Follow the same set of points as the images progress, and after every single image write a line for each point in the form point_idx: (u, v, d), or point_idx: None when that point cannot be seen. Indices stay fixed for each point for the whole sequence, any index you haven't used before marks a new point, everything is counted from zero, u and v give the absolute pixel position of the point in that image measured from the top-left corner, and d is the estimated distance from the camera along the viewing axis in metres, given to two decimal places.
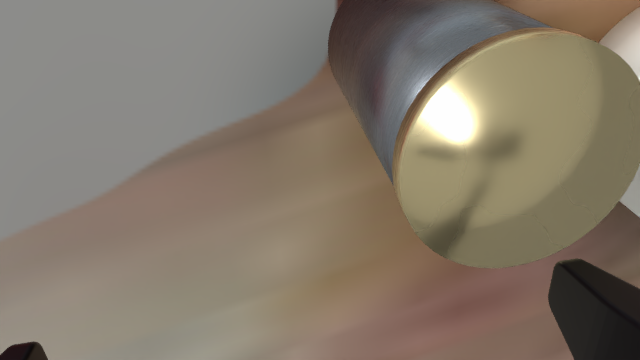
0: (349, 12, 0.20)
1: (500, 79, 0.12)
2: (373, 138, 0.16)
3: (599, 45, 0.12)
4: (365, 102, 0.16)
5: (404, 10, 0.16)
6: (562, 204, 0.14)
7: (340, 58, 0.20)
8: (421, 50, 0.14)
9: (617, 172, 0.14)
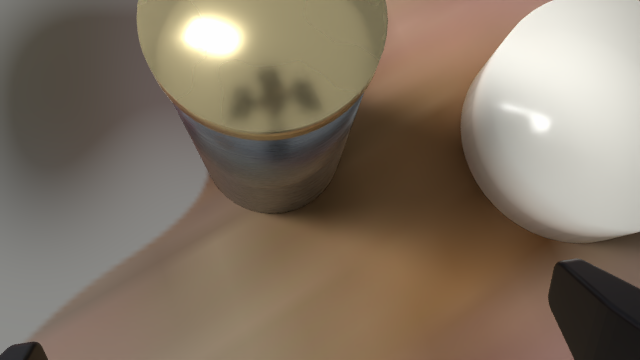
0: None
1: None
2: None
3: None
4: None
5: None
6: (326, 45, 0.13)
7: None
8: None
9: (365, 5, 0.14)
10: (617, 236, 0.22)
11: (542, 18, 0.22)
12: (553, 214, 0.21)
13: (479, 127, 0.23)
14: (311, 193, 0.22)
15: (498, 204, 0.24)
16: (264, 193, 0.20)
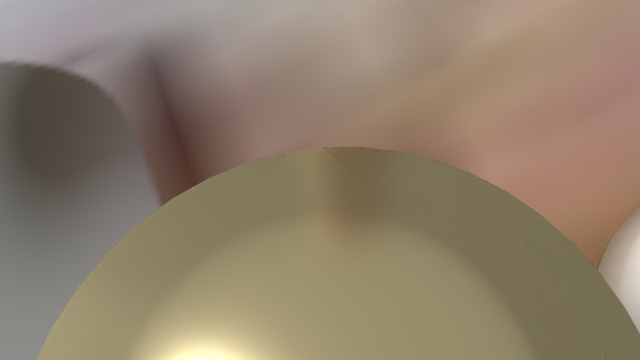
0: None
1: (189, 270, 0.05)
2: None
3: (380, 151, 0.06)
4: None
5: None
6: None
7: None
8: None
9: None
10: None
11: None
12: None
13: None
14: None
15: None
16: None
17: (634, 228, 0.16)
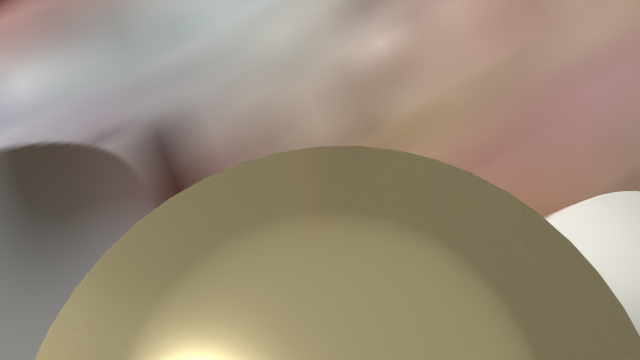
0: None
1: (188, 269, 0.05)
2: None
3: (379, 150, 0.06)
4: None
5: None
6: None
7: None
8: None
9: None
10: None
11: (568, 226, 0.20)
12: None
13: None
14: None
15: None
16: None
17: None
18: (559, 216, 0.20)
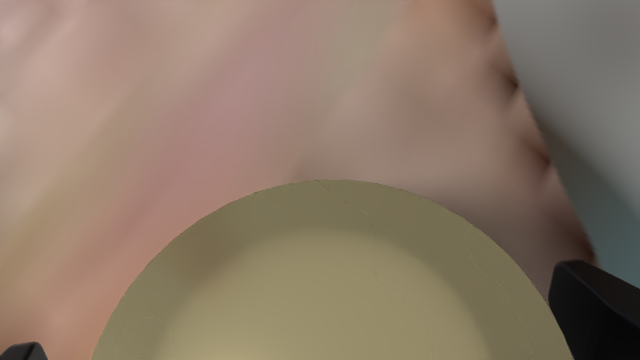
0: None
1: (213, 275, 0.07)
2: None
3: (360, 183, 0.07)
4: None
5: None
6: None
7: None
8: None
9: None
10: None
11: None
12: None
13: None
14: None
15: None
16: None
17: None
18: None
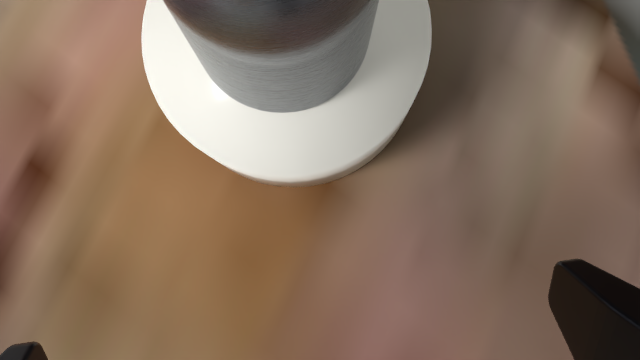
0: None
1: None
2: None
3: None
4: None
5: None
6: None
7: None
8: None
9: None
10: (376, 150, 0.20)
11: None
12: (290, 178, 0.19)
13: None
14: (336, 77, 0.16)
15: (260, 182, 0.22)
16: (272, 74, 0.14)
17: None
18: None
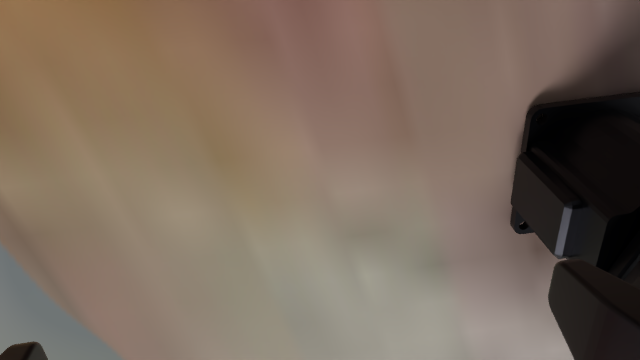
0: None
1: None
2: None
3: None
4: None
5: None
6: None
7: None
8: None
9: None
10: None
11: None
12: None
13: None
14: None
15: None
16: None
17: None
18: None
